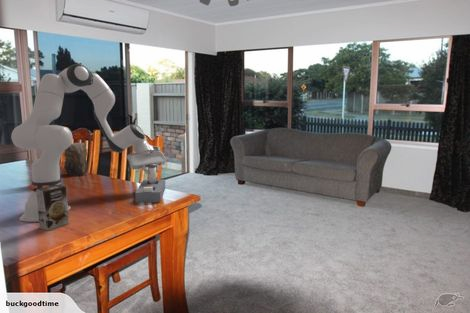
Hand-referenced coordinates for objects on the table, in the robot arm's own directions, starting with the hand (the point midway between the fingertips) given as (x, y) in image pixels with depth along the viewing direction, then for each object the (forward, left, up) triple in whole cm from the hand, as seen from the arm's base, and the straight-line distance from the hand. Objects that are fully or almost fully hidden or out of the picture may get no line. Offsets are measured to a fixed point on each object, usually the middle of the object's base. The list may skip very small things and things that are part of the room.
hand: (152, 172), depth 190 cm
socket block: (-6, 0, -11) cm, 12 cm away
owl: (+44, +54, -11) cm, 71 cm away
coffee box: (-46, +34, -11) cm, 58 cm away
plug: (+1, 0, -7) cm, 7 cm away
